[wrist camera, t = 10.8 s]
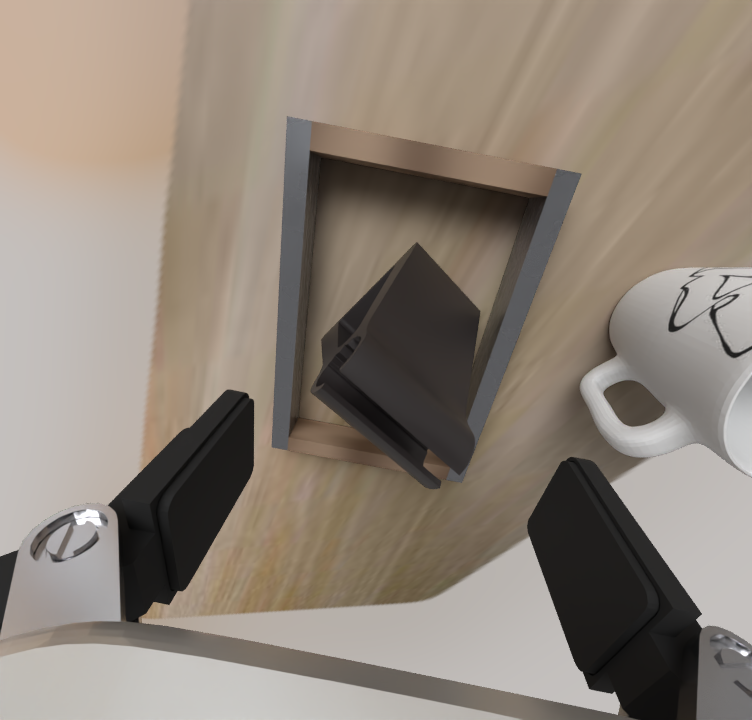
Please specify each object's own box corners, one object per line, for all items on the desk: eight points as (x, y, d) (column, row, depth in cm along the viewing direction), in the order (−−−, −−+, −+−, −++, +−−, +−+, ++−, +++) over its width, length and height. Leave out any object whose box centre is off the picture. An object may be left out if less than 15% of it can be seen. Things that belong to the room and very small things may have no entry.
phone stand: (382, 390, 25) (366, 535, 14) (322, 336, 23) (251, 451, 12) (479, 310, 22) (557, 414, 11) (417, 241, 20) (435, 281, 9)
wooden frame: (559, 177, 18) (581, 173, 16) (456, 459, 27) (461, 482, 25) (301, 127, 18) (287, 116, 16) (282, 426, 27) (271, 447, 24)
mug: (584, 420, 24) (691, 545, 15) (522, 339, 22) (605, 430, 13) (758, 324, 21) (1034, 416, 12) (704, 215, 18) (996, 224, 9)
